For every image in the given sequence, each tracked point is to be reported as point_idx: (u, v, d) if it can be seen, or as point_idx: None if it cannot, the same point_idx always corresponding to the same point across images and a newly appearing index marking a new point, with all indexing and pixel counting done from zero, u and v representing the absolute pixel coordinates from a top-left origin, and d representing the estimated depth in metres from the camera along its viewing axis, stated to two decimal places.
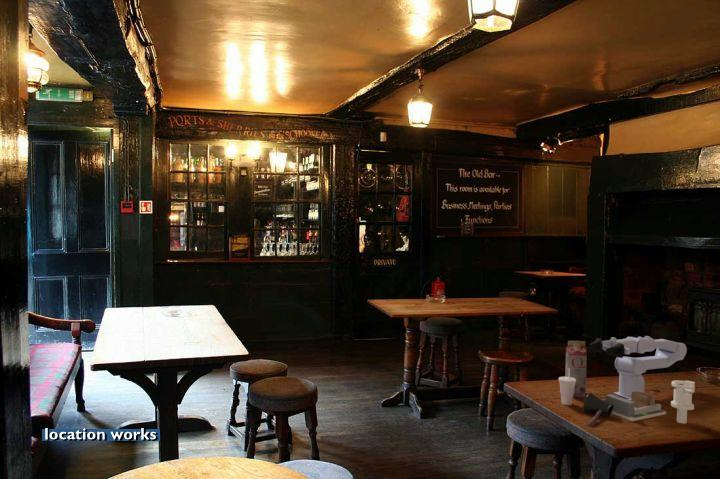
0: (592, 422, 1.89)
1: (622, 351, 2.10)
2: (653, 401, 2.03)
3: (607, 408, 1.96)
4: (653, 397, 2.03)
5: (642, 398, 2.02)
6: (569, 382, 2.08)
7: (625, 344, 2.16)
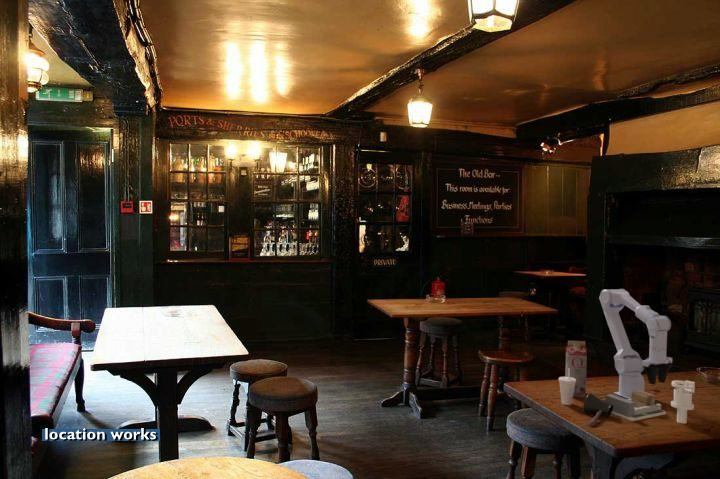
0: (593, 422, 1.88)
1: None
2: (653, 401, 2.03)
3: (607, 408, 1.96)
4: (653, 397, 2.03)
5: (642, 398, 2.02)
6: (569, 382, 2.08)
7: None
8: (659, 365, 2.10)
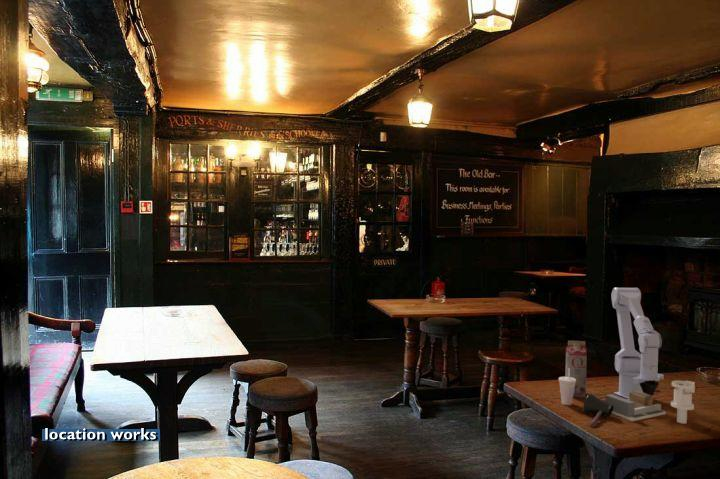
0: (593, 423, 1.88)
1: None
2: (651, 401, 2.03)
3: (607, 409, 1.95)
4: (651, 397, 2.03)
5: (640, 399, 2.02)
6: (569, 382, 2.08)
7: None
8: None
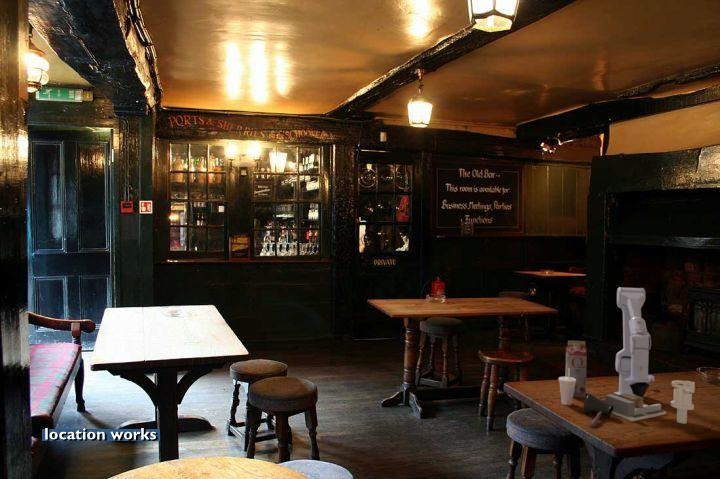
0: (594, 423, 1.87)
1: None
2: (641, 403, 2.01)
3: (607, 409, 1.95)
4: (641, 399, 2.00)
5: None
6: (569, 382, 2.08)
7: None
8: None
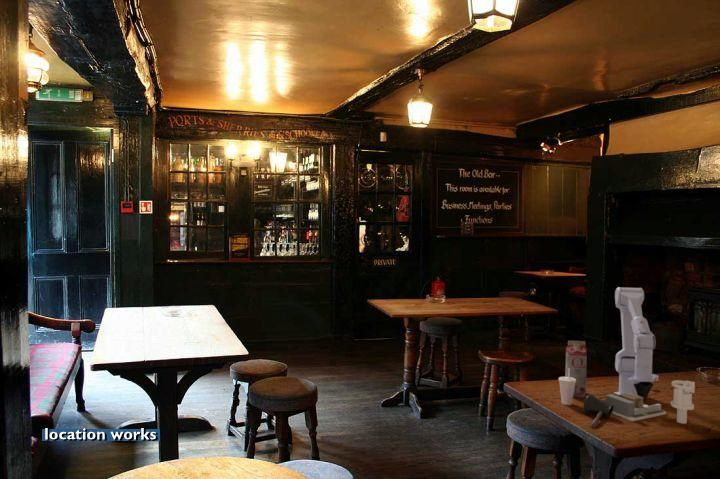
0: (594, 424, 1.87)
1: None
2: (641, 403, 2.01)
3: (607, 409, 1.95)
4: (641, 399, 2.00)
5: None
6: (569, 382, 2.08)
7: None
8: None
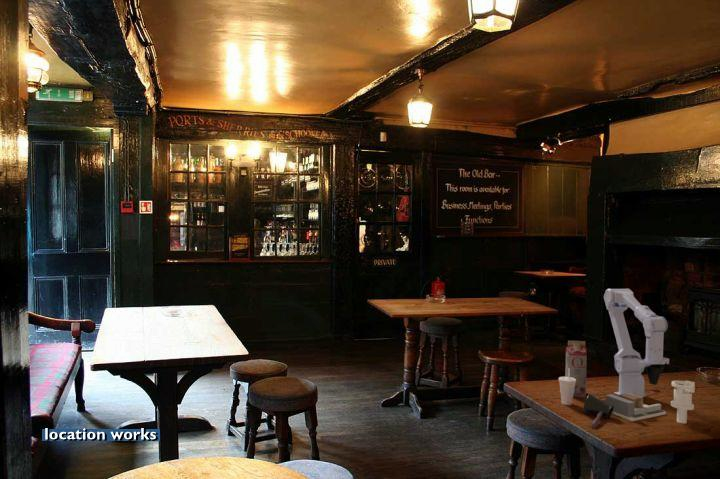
0: (595, 424, 1.87)
1: None
2: (641, 403, 2.01)
3: (608, 409, 1.95)
4: (641, 399, 2.00)
5: None
6: (569, 382, 2.08)
7: None
8: None
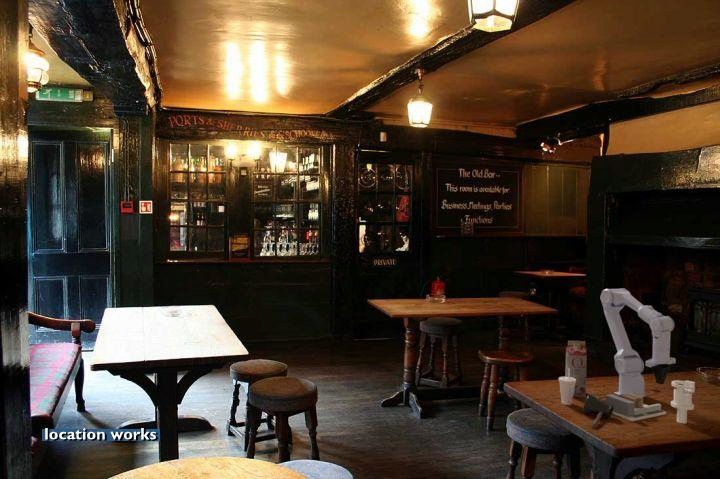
0: (595, 424, 1.86)
1: None
2: (641, 403, 2.01)
3: (608, 410, 1.95)
4: (641, 399, 2.00)
5: None
6: (569, 382, 2.08)
7: None
8: None
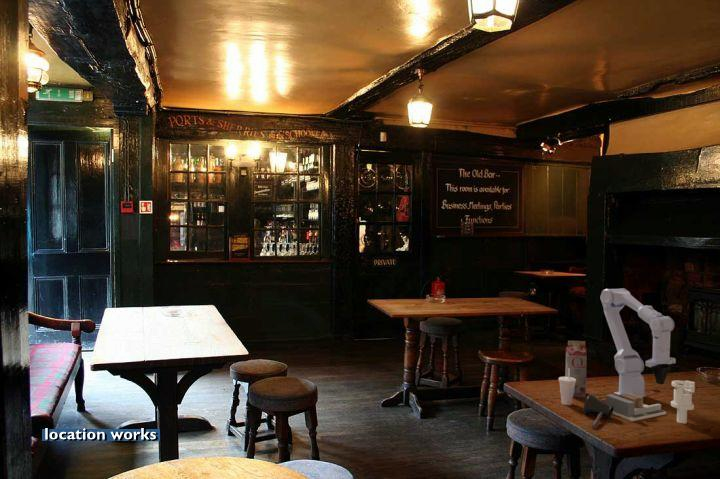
0: (595, 425, 1.86)
1: None
2: (641, 403, 2.01)
3: (608, 410, 1.94)
4: (641, 399, 2.00)
5: None
6: (569, 382, 2.08)
7: None
8: None
